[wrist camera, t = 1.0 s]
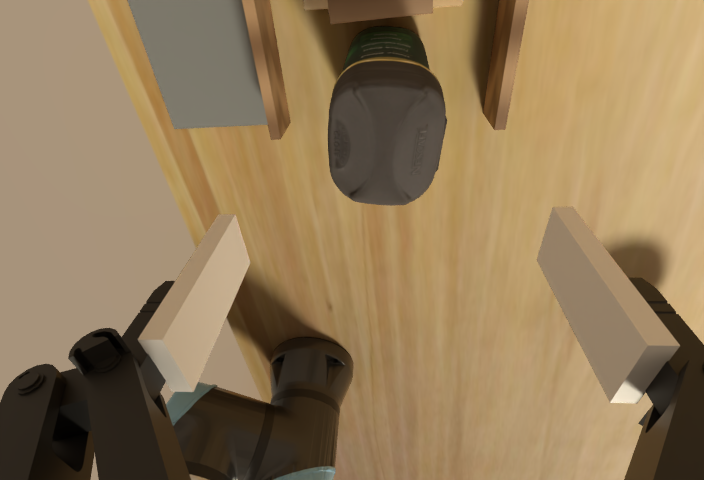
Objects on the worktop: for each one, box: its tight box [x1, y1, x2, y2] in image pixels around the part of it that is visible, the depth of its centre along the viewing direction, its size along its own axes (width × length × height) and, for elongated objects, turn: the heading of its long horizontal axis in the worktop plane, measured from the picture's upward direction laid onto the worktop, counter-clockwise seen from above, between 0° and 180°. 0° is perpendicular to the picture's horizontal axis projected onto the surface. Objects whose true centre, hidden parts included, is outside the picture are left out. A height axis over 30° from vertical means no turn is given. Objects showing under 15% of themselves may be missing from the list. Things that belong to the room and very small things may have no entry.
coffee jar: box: [328, 26, 447, 205], centre depth 30 cm, size 10×8×19 cm
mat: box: [128, 0, 268, 129], centre depth 38 cm, size 14×11×1 cm
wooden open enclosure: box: [242, 0, 529, 140], centre depth 33 cm, size 16×23×5 cm
